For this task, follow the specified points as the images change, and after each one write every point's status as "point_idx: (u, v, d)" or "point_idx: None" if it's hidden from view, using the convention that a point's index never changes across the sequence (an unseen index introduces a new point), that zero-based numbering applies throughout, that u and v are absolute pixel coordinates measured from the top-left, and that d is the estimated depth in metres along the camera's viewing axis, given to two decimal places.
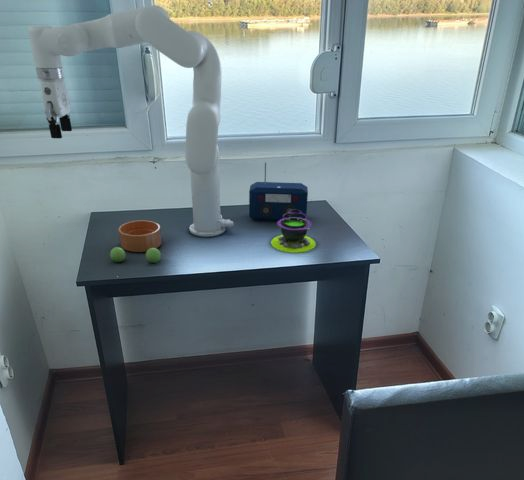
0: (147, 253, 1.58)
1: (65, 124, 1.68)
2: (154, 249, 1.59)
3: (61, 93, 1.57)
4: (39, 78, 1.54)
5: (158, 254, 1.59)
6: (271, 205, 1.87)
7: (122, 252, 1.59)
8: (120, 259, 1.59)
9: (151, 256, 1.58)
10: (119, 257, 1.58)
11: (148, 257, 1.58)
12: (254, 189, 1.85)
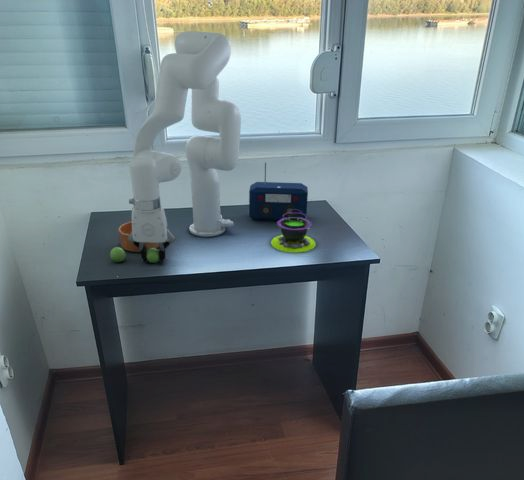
0: (147, 253, 1.58)
1: None
2: (154, 249, 1.59)
3: (142, 223, 1.51)
4: None
5: (158, 254, 1.59)
6: (271, 205, 1.87)
7: (122, 252, 1.59)
8: (120, 259, 1.59)
9: (151, 257, 1.58)
10: (119, 257, 1.58)
11: (148, 257, 1.58)
12: (254, 189, 1.85)
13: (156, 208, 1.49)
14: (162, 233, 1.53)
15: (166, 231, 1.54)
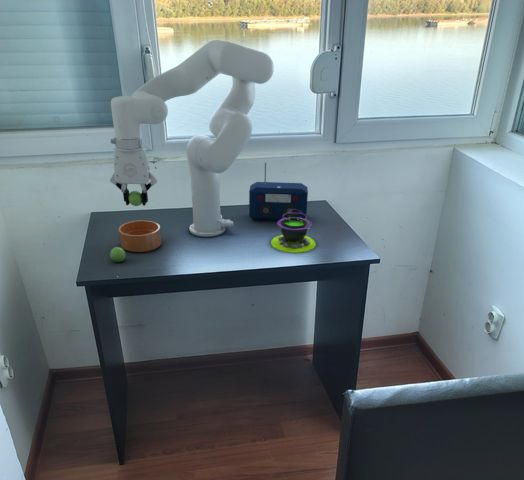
0: (129, 195, 1.60)
1: None
2: (136, 192, 1.61)
3: (124, 163, 1.53)
4: None
5: (140, 197, 1.61)
6: (271, 205, 1.87)
7: (122, 252, 1.59)
8: (120, 259, 1.59)
9: (133, 199, 1.60)
10: (119, 257, 1.58)
11: (130, 199, 1.60)
12: (254, 189, 1.85)
13: (137, 147, 1.51)
14: (144, 174, 1.55)
15: (148, 172, 1.56)
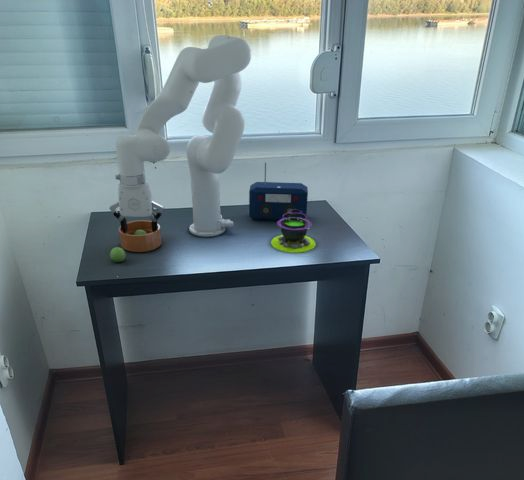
0: (134, 234, 1.69)
1: None
2: (141, 231, 1.69)
3: (128, 197, 1.60)
4: None
5: None
6: (271, 205, 1.87)
7: (122, 252, 1.59)
8: (120, 259, 1.59)
9: None
10: (119, 257, 1.58)
11: None
12: (254, 189, 1.85)
13: (141, 183, 1.58)
14: (147, 207, 1.62)
15: (151, 206, 1.63)
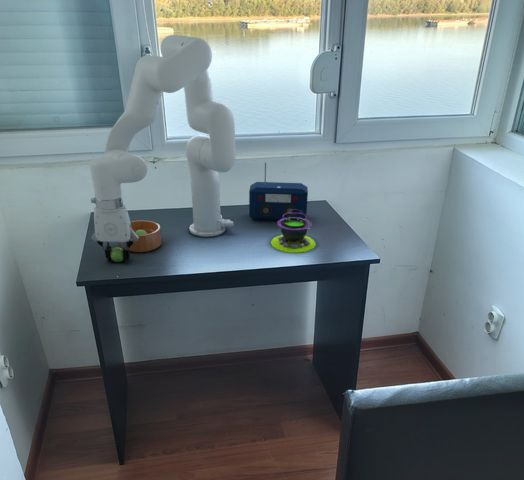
0: None
1: None
2: (142, 231, 1.69)
3: (104, 222, 1.51)
4: None
5: None
6: (271, 205, 1.87)
7: (122, 252, 1.59)
8: (120, 259, 1.59)
9: None
10: (119, 257, 1.58)
11: None
12: (254, 189, 1.85)
13: (118, 207, 1.49)
14: (125, 232, 1.53)
15: (129, 230, 1.54)
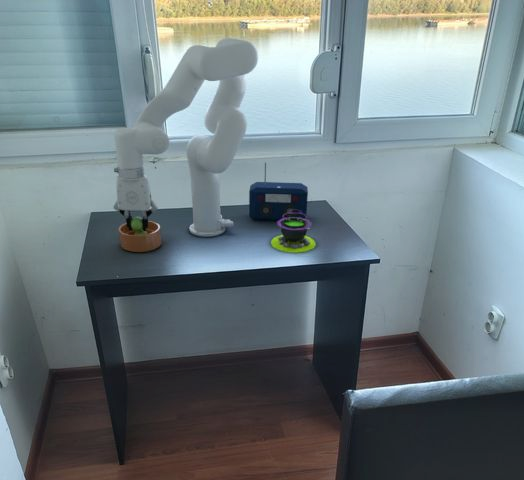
0: (136, 234, 1.69)
1: None
2: (143, 231, 1.69)
3: (126, 191, 1.59)
4: None
5: None
6: (271, 205, 1.87)
7: None
8: (140, 228, 1.66)
9: None
10: (139, 226, 1.66)
11: None
12: (254, 189, 1.85)
13: (140, 176, 1.57)
14: (145, 201, 1.60)
15: (149, 199, 1.61)
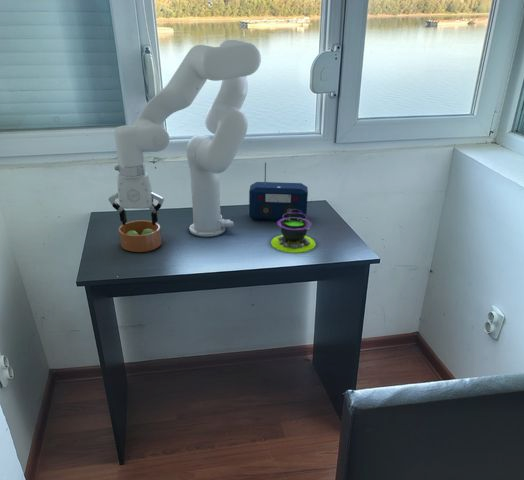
0: (148, 230, 1.69)
1: None
2: None
3: (127, 189, 1.59)
4: None
5: None
6: (271, 205, 1.87)
7: None
8: None
9: None
10: None
11: (146, 232, 1.69)
12: (254, 189, 1.85)
13: (140, 174, 1.56)
14: (147, 199, 1.60)
15: (151, 197, 1.61)
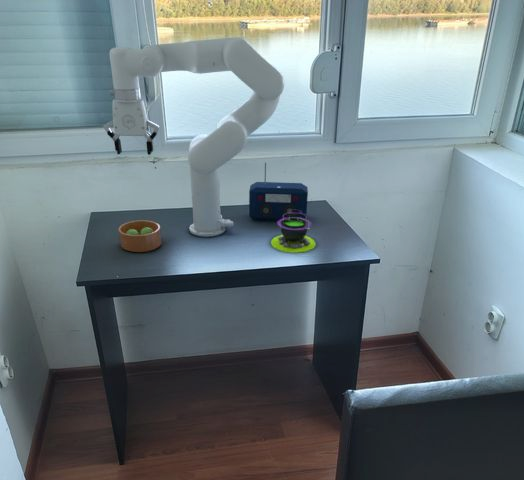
0: (146, 227, 1.71)
1: None
2: (153, 231, 1.72)
3: (122, 114, 1.57)
4: None
5: None
6: (271, 205, 1.87)
7: None
8: (132, 232, 1.68)
9: (146, 229, 1.70)
10: (133, 234, 1.68)
11: (144, 228, 1.70)
12: (254, 189, 1.85)
13: (136, 98, 1.55)
14: (142, 125, 1.59)
15: (146, 124, 1.60)
